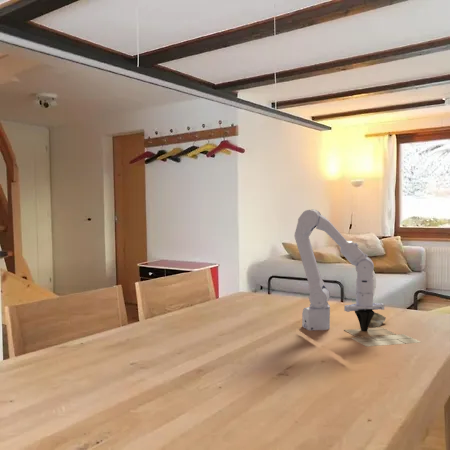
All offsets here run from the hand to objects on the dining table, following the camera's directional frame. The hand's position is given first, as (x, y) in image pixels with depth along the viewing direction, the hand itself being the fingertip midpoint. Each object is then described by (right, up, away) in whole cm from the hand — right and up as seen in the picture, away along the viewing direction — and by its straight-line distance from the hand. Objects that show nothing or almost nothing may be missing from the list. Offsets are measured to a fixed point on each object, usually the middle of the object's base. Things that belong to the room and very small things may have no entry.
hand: (364, 330), depth 173 cm
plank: (+1, -2, -2) cm, 3 cm away
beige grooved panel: (+4, -2, -11) cm, 12 cm away
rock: (+7, -1, +10) cm, 12 cm away
